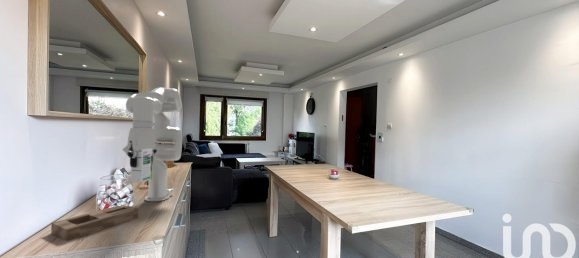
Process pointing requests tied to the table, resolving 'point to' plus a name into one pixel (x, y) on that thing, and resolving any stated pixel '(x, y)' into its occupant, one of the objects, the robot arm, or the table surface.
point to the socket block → (92, 221)
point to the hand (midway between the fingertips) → (141, 165)
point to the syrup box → (142, 166)
